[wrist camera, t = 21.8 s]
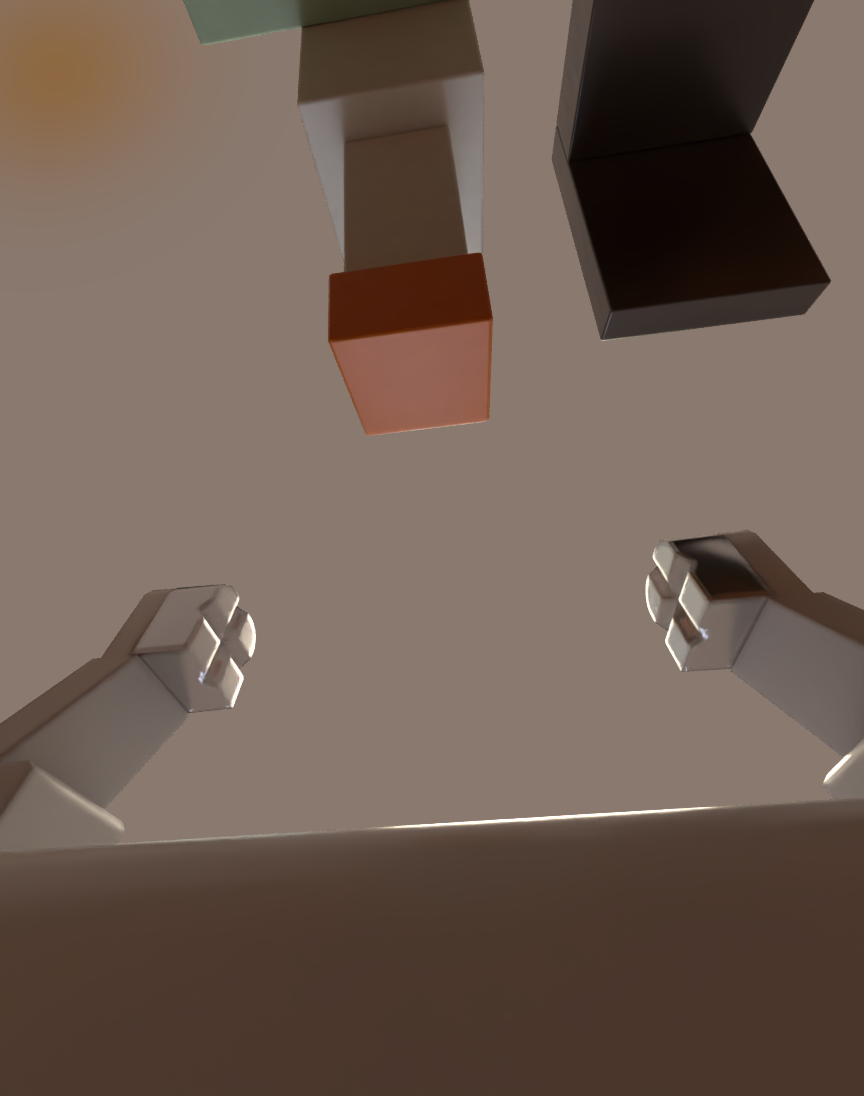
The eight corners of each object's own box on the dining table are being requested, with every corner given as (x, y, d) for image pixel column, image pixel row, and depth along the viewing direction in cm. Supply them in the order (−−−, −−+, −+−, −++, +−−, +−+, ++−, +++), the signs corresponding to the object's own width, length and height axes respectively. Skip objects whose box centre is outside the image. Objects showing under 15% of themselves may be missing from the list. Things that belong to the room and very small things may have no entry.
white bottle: (283, 318, 6) (349, 453, 10) (529, 283, 6) (511, 433, 10) (311, -151, 13) (345, 26, 16) (432, -176, 13) (442, 8, 16)
